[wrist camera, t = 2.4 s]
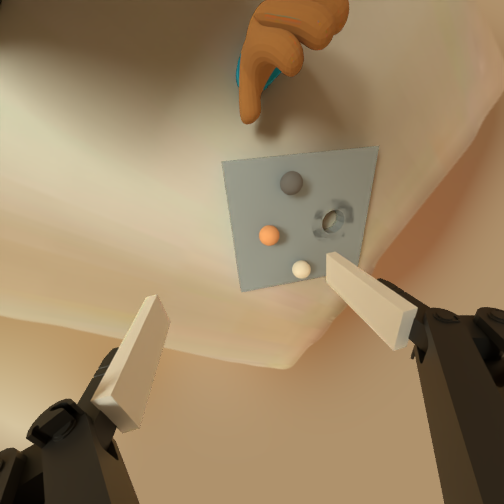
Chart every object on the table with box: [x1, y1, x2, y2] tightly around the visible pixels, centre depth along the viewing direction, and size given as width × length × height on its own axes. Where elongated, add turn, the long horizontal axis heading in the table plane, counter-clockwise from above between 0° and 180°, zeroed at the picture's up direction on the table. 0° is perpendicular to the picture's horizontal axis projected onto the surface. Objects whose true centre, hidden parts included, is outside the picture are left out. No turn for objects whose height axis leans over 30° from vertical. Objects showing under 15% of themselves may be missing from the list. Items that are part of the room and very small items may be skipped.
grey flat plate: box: [222, 146, 379, 292], centre depth 35 cm, size 26×24×2 cm
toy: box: [236, 0, 349, 124], centre depth 19 cm, size 12×7×15 cm, turn 132°
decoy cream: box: [292, 260, 311, 279], centre depth 36 cm, size 4×4×4 cm
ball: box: [259, 225, 279, 246], centre depth 32 cm, size 4×4×4 cm
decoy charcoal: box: [280, 171, 303, 195], centre depth 29 cm, size 4×4×4 cm
